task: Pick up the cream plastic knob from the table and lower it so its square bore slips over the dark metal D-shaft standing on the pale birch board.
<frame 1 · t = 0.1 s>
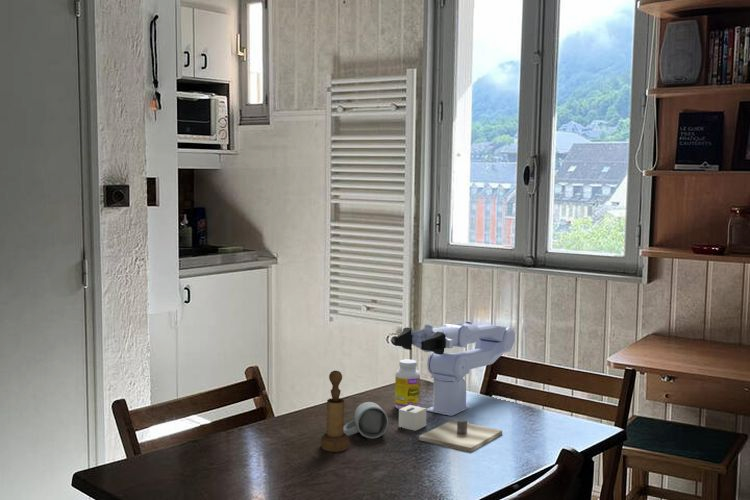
hand: (409, 343, 204), 22 cm above the table, tool horizontal, fingers open, 7 cm apart
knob: (412, 426, 207), on the table
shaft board: (461, 437, 199), on the table
mortar and pestle: (335, 447, 191), on the table
supplement bottle: (407, 408, 224), on the table
ceramic mug: (364, 435, 201), on the table
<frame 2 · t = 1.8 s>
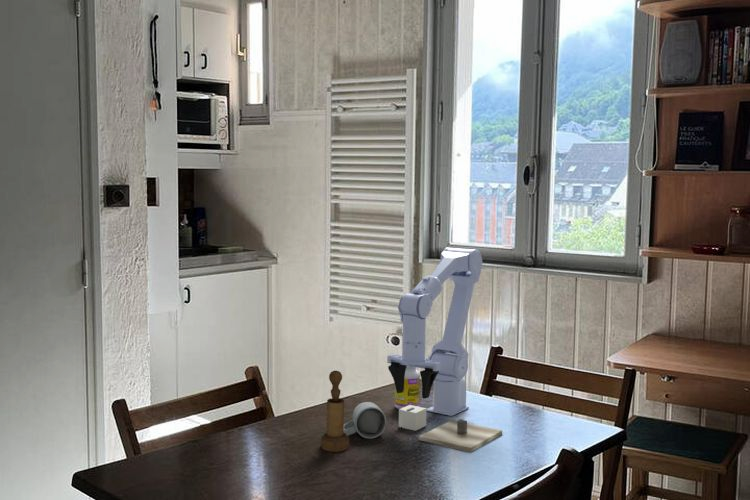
hand: (412, 395, 207), 8 cm above the table, tool pointing down, fingers open, 7 cm apart
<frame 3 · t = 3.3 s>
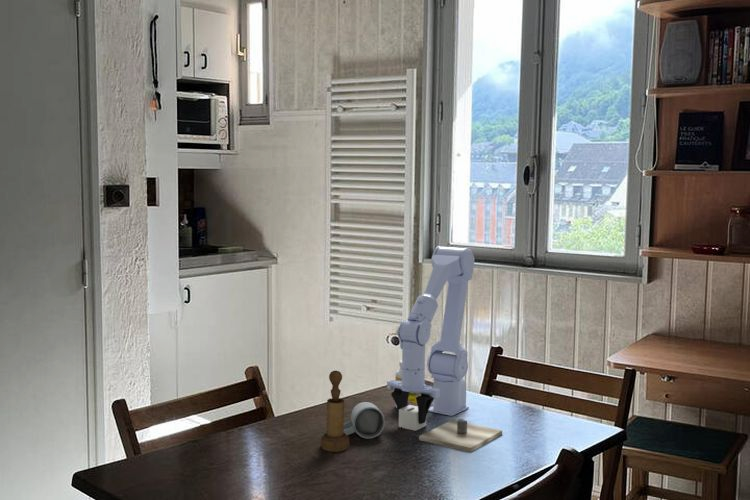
hand: (412, 420, 207), 1 cm above the table, tool pointing down, fingers closed on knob, 5 cm apart
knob: (412, 426, 207), on the table, touching gripper
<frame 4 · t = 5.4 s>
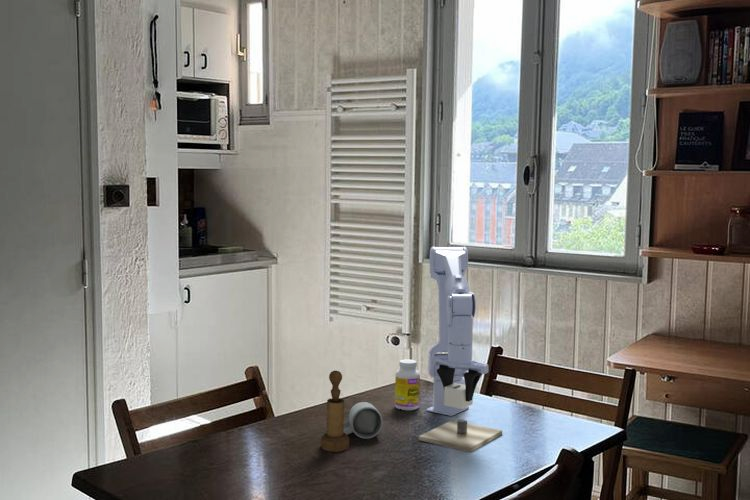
hand: (458, 398, 199), 9 cm above the table, tool pointing down, fingers closed on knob, 5 cm apart
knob: (458, 404, 199), point 8 cm above the table, touching gripper
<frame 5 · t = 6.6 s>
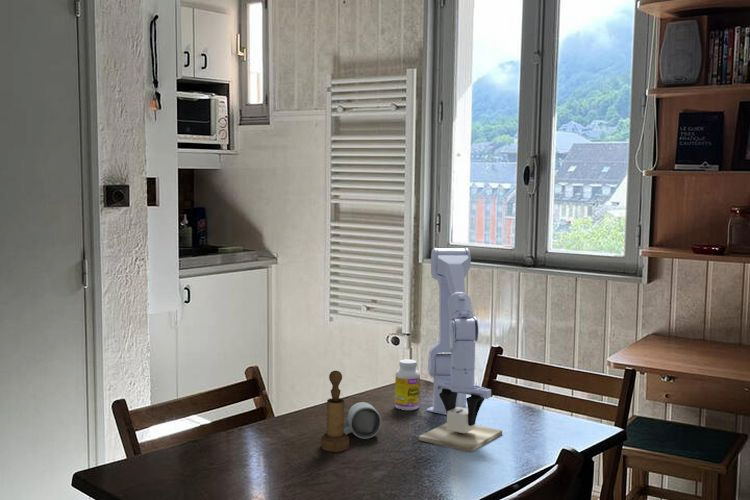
hand: (461, 422, 199), 4 cm above the table, tool pointing down, fingers closed on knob, 5 cm apart
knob: (461, 428, 199), point 2 cm above the table, touching gripper
when the fingers open (3 cm above the table, at t = 7.6 s): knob stays where it is, resting on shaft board.
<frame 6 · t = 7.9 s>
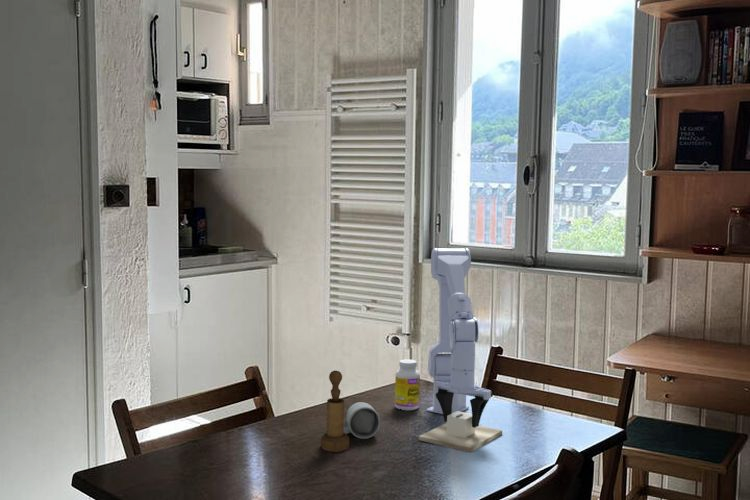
hand: (461, 423, 199), 3 cm above the table, tool pointing down, fingers open, 7 cm apart
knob: (460, 433, 199), point 1 cm above the table, touching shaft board
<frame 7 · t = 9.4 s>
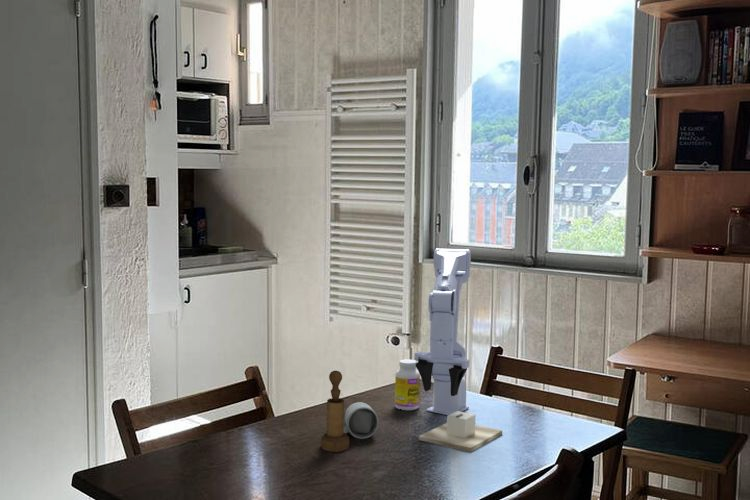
hand: (440, 392, 205), 9 cm above the table, tool pointing down, fingers open, 7 cm apart
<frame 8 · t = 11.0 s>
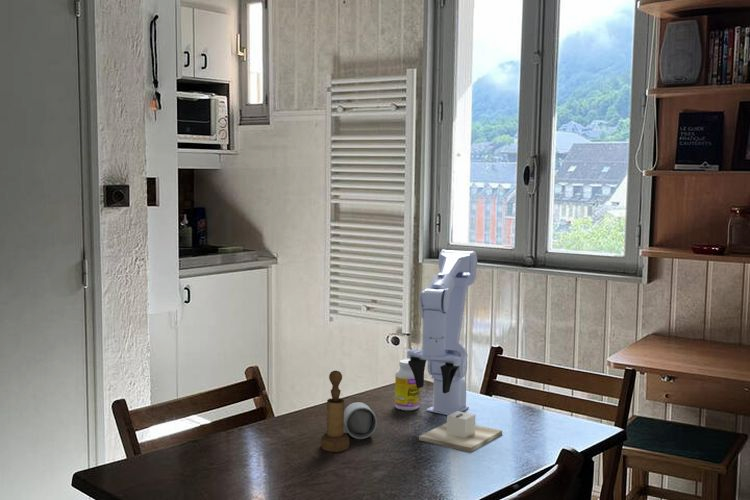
hand: (432, 389, 207), 9 cm above the table, tool pointing down, fingers open, 7 cm apart
at the end: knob 0.2 cm from the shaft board (horizontally); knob point 1.0 cm above the table; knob tilted 0° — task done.
